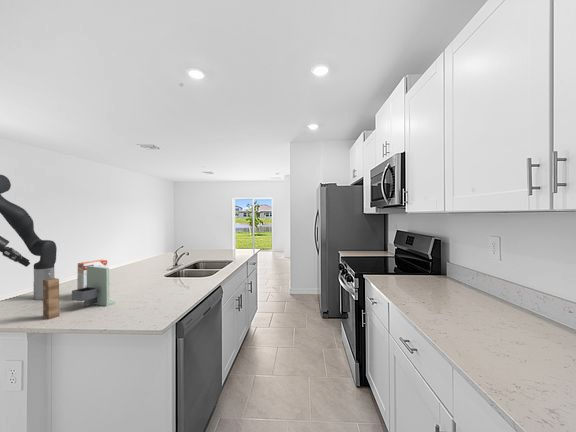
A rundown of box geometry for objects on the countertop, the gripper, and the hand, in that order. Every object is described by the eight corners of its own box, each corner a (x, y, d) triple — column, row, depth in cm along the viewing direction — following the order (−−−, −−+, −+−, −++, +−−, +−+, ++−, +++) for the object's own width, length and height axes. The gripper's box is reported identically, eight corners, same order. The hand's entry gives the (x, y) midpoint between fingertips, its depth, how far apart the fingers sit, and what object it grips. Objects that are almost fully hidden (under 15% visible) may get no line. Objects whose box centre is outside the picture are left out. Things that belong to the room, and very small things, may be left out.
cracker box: (83, 301, 163) (83, 263, 163) (76, 299, 165) (76, 262, 165) (107, 294, 176) (107, 259, 175) (101, 293, 178) (101, 259, 178)
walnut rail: (43, 318, 137) (42, 279, 137) (53, 314, 141) (53, 277, 141) (48, 319, 136) (48, 280, 135) (59, 316, 140) (58, 278, 139)
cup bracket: (67, 308, 151) (66, 269, 151) (95, 299, 165) (95, 264, 165) (87, 312, 145) (87, 272, 145) (115, 303, 159) (115, 266, 159)
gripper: (-17, 247, 129) (20, 268, 138) (-19, 250, 119) (21, 272, 128) (-1, 234, 133) (34, 255, 141) (-2, 236, 122) (36, 259, 131)
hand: (28, 263), depth 134 cm, fingers open, 8 cm apart
